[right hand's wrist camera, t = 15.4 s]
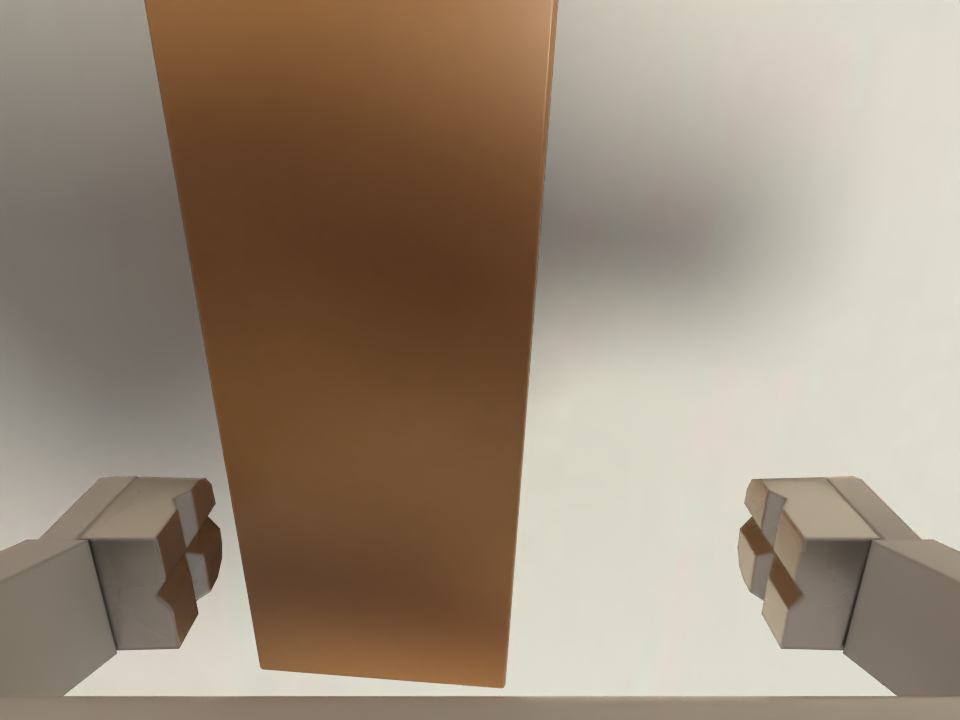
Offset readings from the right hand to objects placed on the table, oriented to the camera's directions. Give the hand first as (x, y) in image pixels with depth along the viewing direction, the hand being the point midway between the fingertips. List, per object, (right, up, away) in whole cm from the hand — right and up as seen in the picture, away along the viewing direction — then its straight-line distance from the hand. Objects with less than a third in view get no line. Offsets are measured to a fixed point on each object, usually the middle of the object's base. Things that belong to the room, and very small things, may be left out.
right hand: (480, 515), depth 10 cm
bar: (-1, +13, +4) cm, 13 cm away
